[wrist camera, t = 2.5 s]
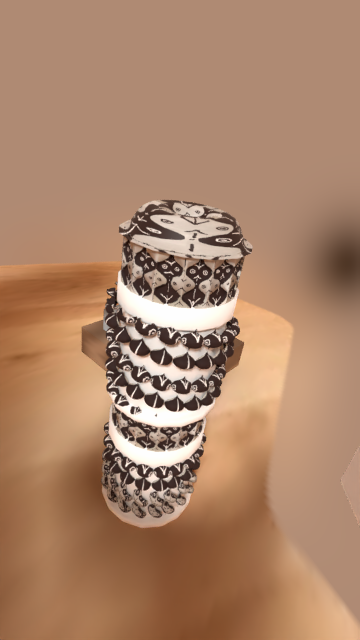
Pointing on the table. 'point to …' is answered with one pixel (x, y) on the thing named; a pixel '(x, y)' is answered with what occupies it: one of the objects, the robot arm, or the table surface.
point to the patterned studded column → (167, 353)
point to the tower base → (96, 347)
